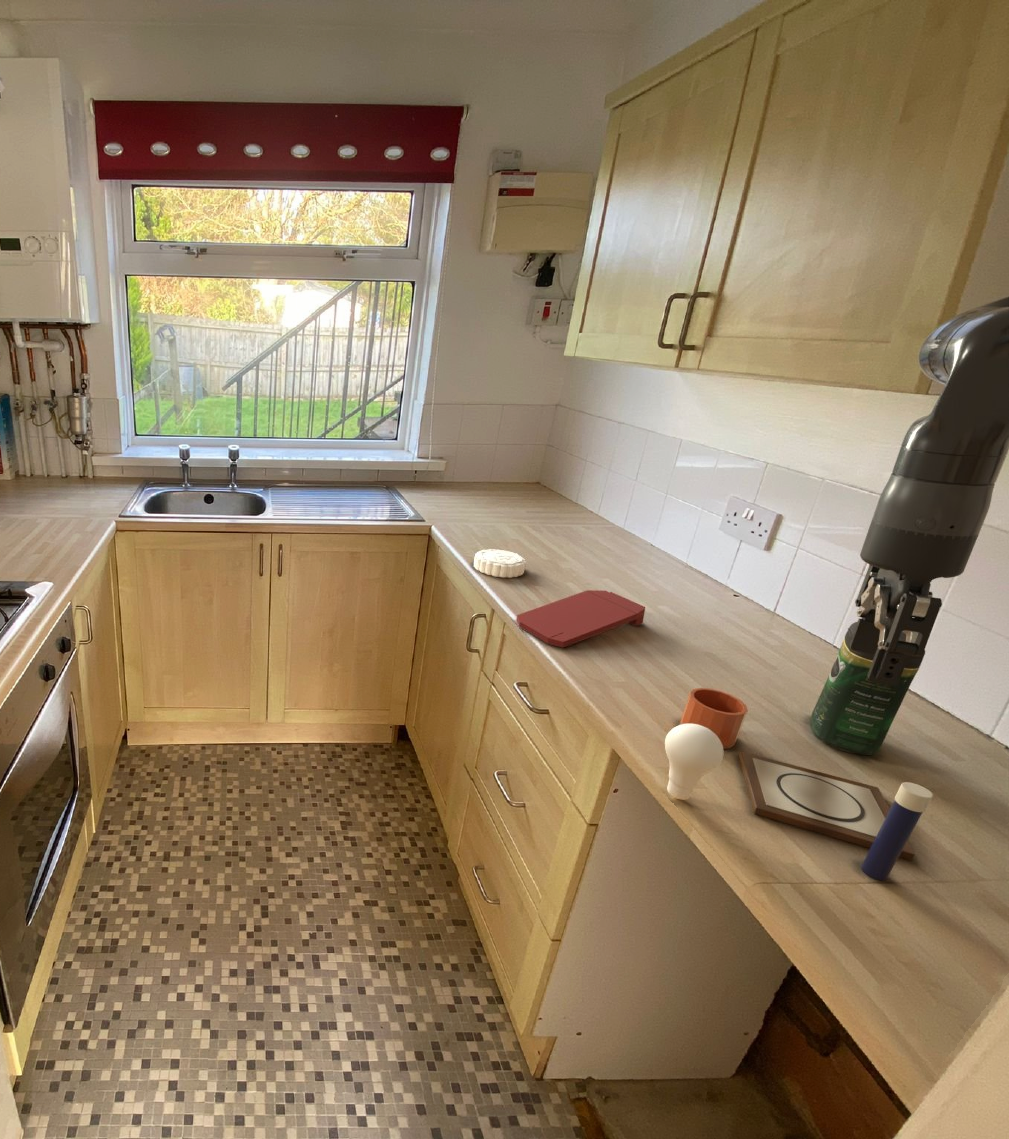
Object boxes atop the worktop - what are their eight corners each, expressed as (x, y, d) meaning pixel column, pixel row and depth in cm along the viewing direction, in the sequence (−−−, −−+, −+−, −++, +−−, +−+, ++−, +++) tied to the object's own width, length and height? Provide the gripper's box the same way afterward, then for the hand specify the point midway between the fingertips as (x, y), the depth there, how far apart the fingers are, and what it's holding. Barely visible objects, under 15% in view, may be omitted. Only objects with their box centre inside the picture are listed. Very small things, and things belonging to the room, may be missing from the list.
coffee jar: (882, 764, 89) (938, 650, 82) (810, 743, 93) (857, 633, 86) (872, 731, 96) (922, 624, 89) (805, 713, 101) (848, 609, 94)
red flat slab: (556, 665, 120) (651, 627, 128) (558, 643, 118) (655, 606, 125) (510, 637, 131) (601, 603, 138) (511, 616, 129) (603, 584, 136)
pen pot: (731, 729, 96) (743, 696, 94) (738, 754, 91) (751, 720, 88) (677, 715, 100) (688, 683, 97) (681, 739, 94) (692, 705, 92)
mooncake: (529, 579, 151) (531, 566, 150) (477, 576, 153) (479, 562, 151) (517, 562, 162) (520, 549, 161) (469, 558, 164) (472, 546, 162)
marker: (884, 869, 72) (928, 786, 67) (891, 884, 70) (937, 800, 65) (856, 861, 73) (898, 779, 68) (863, 875, 71) (906, 792, 66)
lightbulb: (678, 779, 86) (701, 711, 82) (716, 811, 80) (742, 741, 76) (639, 783, 85) (660, 716, 80) (674, 816, 79) (699, 745, 75)
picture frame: (875, 793, 84) (879, 785, 83) (911, 861, 73) (916, 852, 73) (738, 756, 90) (741, 749, 90) (753, 813, 80) (757, 806, 79)
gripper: (1009, 547, 55) (941, 706, 60) (953, 512, 66) (899, 649, 72) (892, 534, 59) (838, 685, 64) (858, 503, 70) (814, 634, 75)
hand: (871, 666), depth 68 cm, fingers open, 8 cm apart
